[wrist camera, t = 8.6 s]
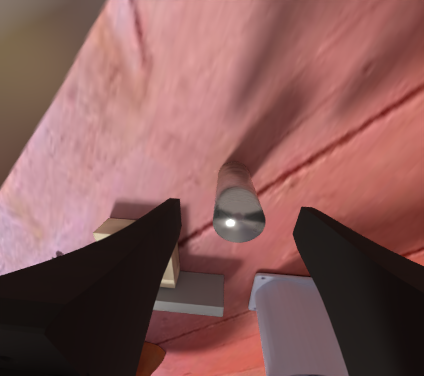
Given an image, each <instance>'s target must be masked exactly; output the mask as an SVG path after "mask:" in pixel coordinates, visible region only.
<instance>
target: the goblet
mask: <svg viewBox="0 0 424 376" xmlns="http://www.w3.org/2000/svg"><path fill="white" fill-rule="evenodd" d="M164 357H165V352H164V350H162V349H161V348H160V347H159V346H157V345H155V344H152V343H148V342H144V345H143V348H142V352H141V356H140V360H139V364H138V368H137V372H136V376H150V375H151V374H152V373H153V372H154V371H155V370H156V369H157V368H158V366H159V365H160V364H161V363H162V361H163V359H164Z"/></svg>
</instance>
